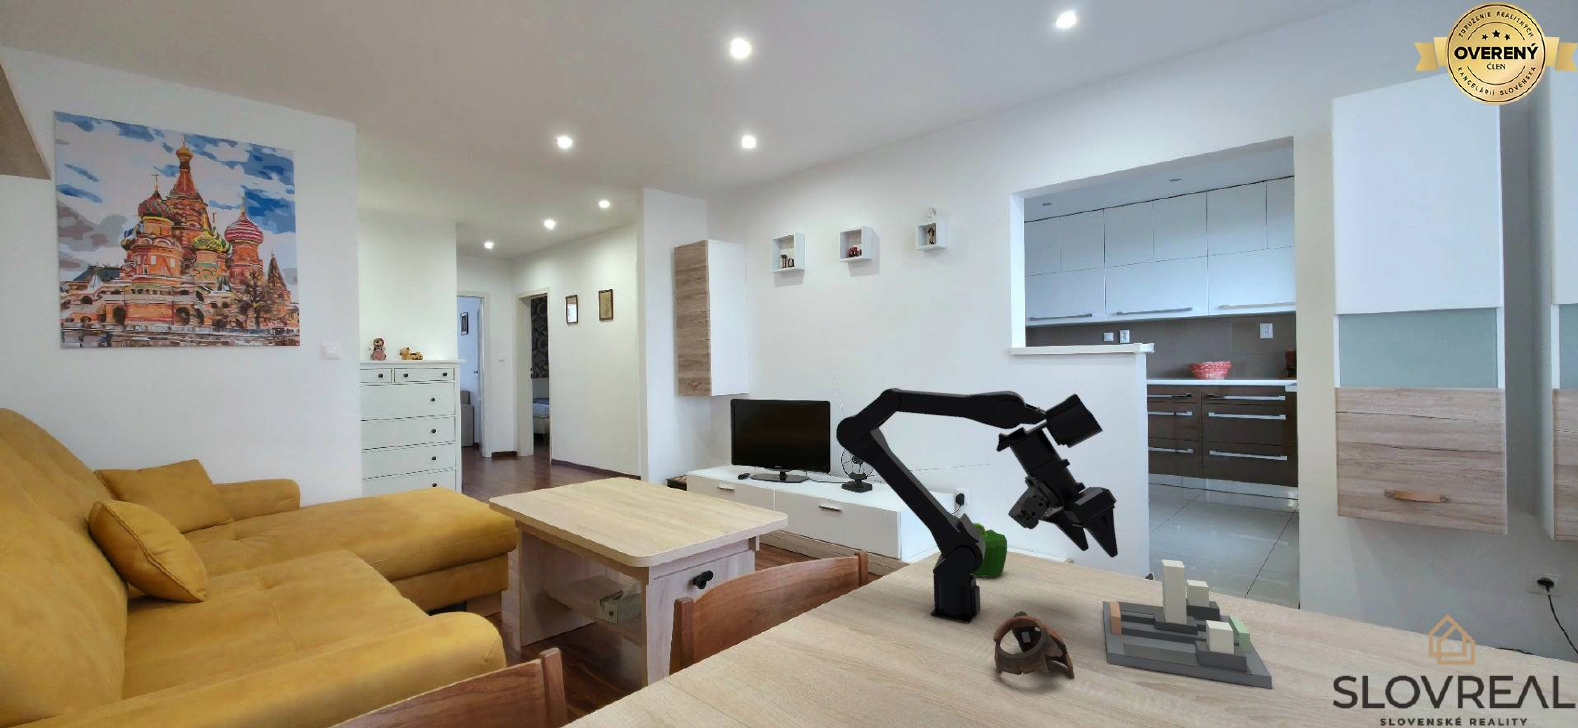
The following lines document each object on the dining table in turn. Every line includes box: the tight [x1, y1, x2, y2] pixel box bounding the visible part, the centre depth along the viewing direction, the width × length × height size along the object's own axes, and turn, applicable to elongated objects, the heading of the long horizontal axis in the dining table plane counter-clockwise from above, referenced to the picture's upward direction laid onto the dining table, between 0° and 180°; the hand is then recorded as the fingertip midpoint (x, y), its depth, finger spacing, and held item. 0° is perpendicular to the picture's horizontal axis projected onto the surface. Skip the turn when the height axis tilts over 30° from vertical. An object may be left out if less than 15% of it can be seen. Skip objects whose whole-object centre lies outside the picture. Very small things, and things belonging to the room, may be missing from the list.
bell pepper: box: [971, 522, 1008, 578], centre depth 120 cm, size 8×8×10 cm
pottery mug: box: [992, 611, 1075, 679], centre depth 83 cm, size 12×10×8 cm
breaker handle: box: [1153, 559, 1198, 635], centre depth 88 cm, size 5×4×10 cm
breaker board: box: [1102, 579, 1273, 689], centre depth 88 cm, size 18×20×6 cm
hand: (1099, 552), depth 94 cm, fingers open, 9 cm apart
